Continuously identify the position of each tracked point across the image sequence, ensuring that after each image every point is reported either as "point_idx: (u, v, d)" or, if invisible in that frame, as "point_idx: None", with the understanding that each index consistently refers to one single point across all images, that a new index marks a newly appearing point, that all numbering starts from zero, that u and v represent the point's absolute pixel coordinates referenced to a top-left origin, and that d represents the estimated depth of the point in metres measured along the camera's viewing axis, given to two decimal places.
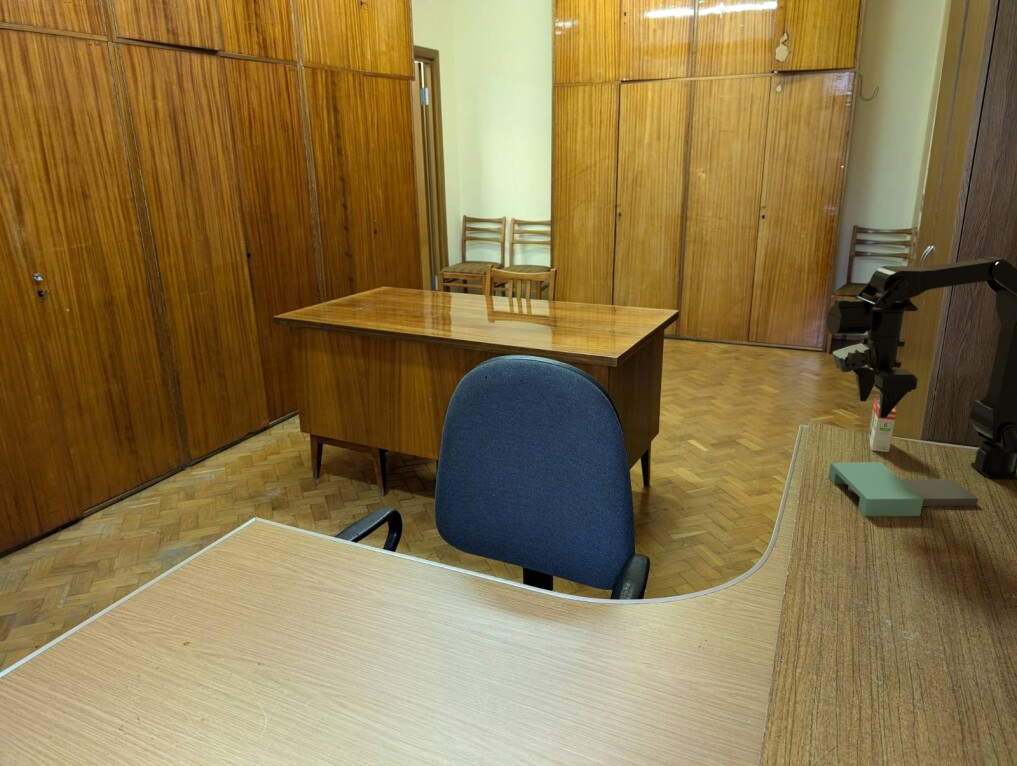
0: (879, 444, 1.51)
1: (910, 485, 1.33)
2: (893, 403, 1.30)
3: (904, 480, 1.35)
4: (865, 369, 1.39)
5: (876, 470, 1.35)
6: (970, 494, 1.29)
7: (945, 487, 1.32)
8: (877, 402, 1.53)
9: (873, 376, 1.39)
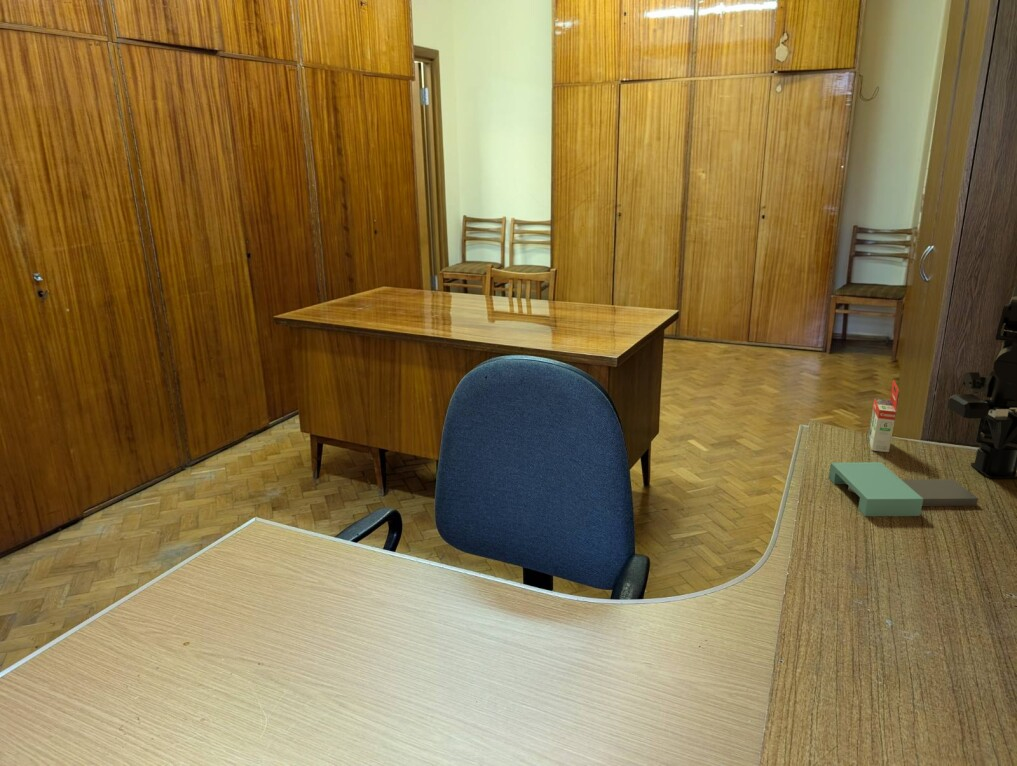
0: (879, 444, 1.51)
1: (910, 485, 1.33)
2: (997, 433, 1.27)
3: (904, 480, 1.35)
4: (1008, 414, 1.27)
5: (876, 470, 1.35)
6: (970, 494, 1.29)
7: (945, 487, 1.32)
8: (877, 402, 1.53)
9: (1012, 425, 1.25)
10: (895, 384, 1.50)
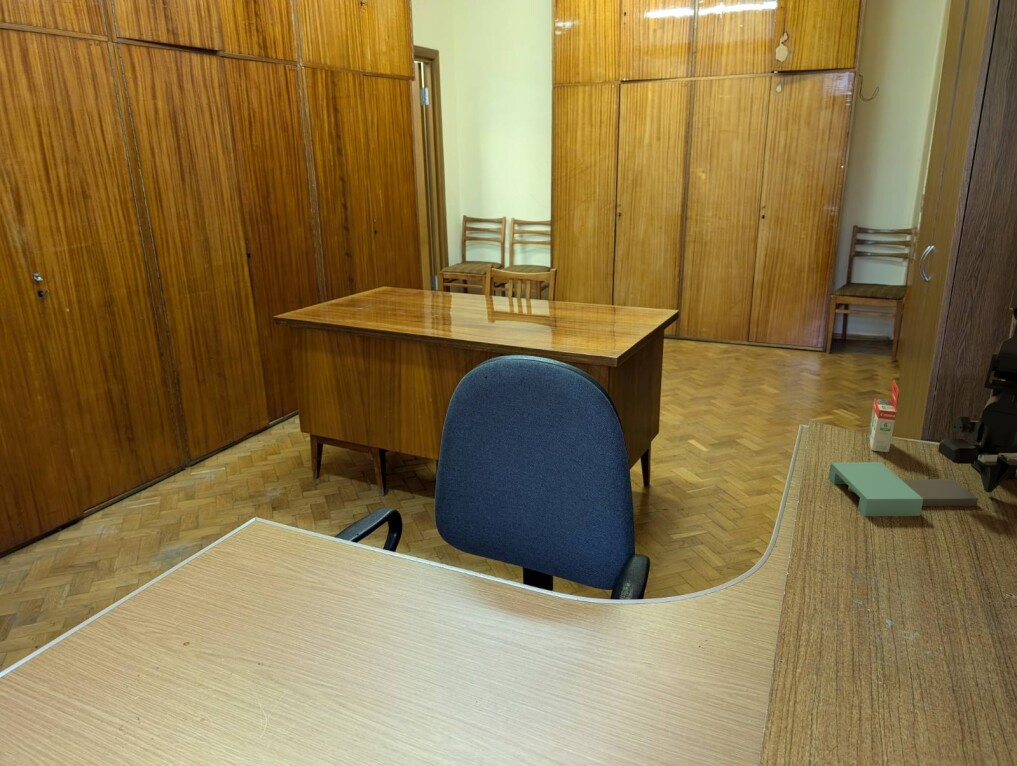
0: (879, 444, 1.51)
1: (910, 485, 1.33)
2: (987, 477, 1.29)
3: (904, 480, 1.35)
4: (998, 459, 1.29)
5: (876, 470, 1.35)
6: (970, 494, 1.29)
7: (945, 487, 1.32)
8: (877, 402, 1.53)
9: (1001, 470, 1.28)
10: (895, 384, 1.50)
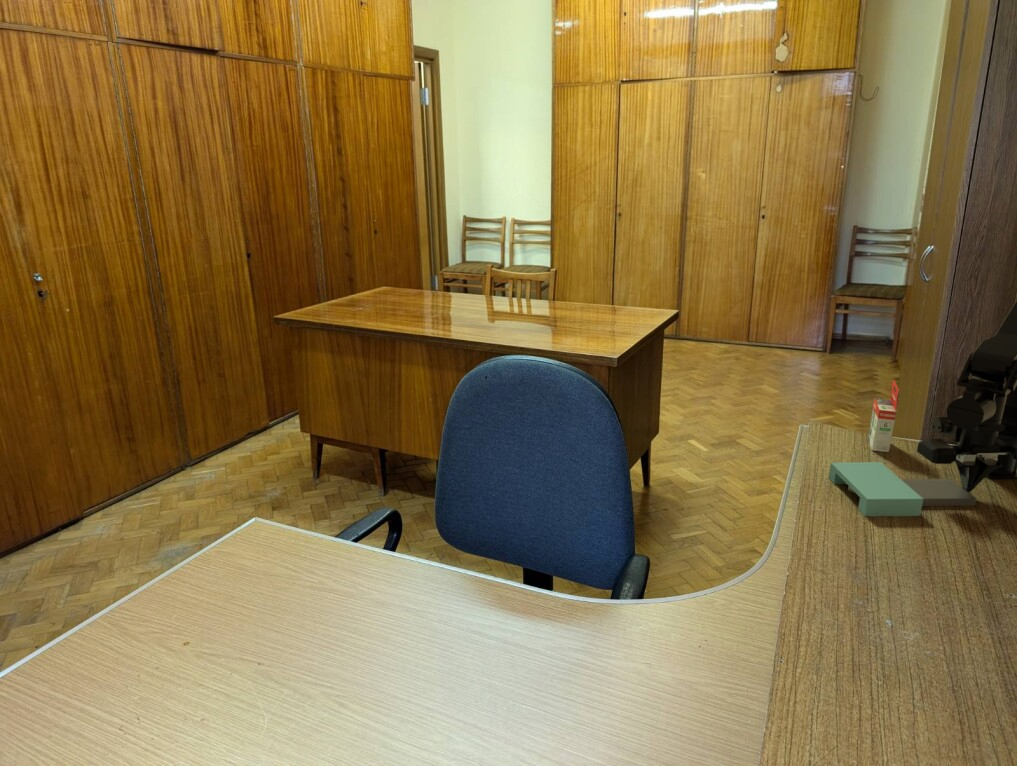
0: (879, 444, 1.51)
1: (908, 485, 1.33)
2: (965, 477, 1.29)
3: (902, 480, 1.35)
4: (976, 459, 1.29)
5: (876, 470, 1.35)
6: (968, 494, 1.29)
7: (943, 487, 1.32)
8: (877, 402, 1.53)
9: (979, 470, 1.28)
10: (895, 384, 1.50)
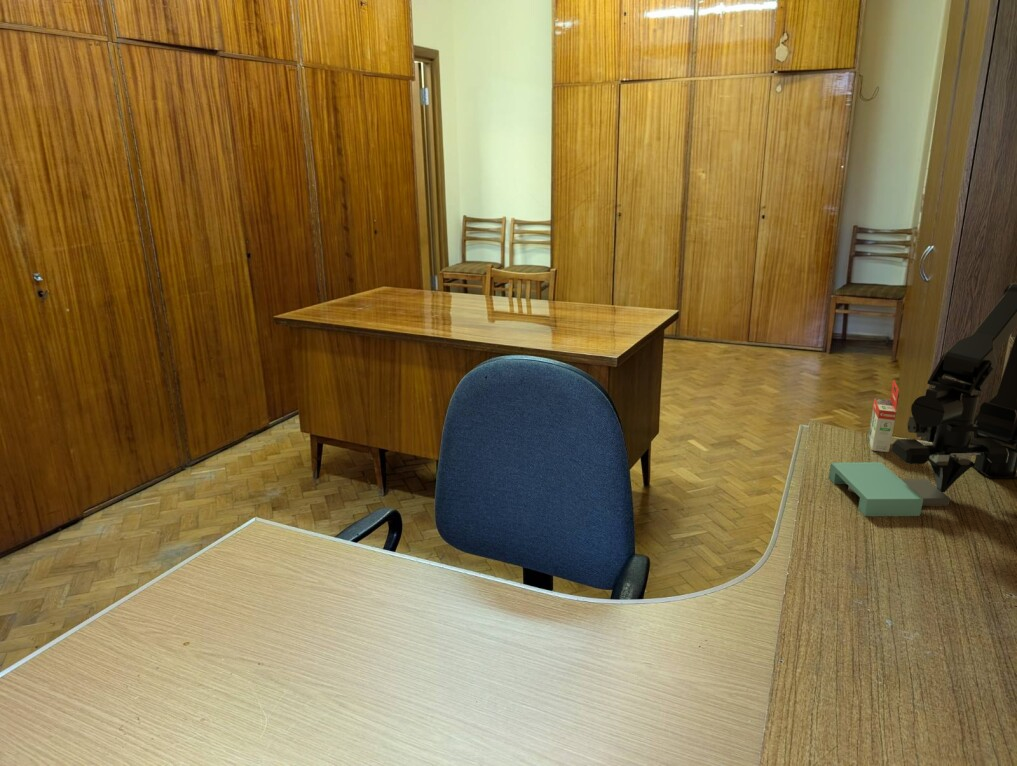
0: (879, 444, 1.51)
1: None
2: (940, 477, 1.29)
3: None
4: (950, 459, 1.29)
5: (876, 470, 1.35)
6: (942, 494, 1.29)
7: (918, 487, 1.32)
8: (877, 402, 1.53)
9: (953, 470, 1.28)
10: (895, 384, 1.50)
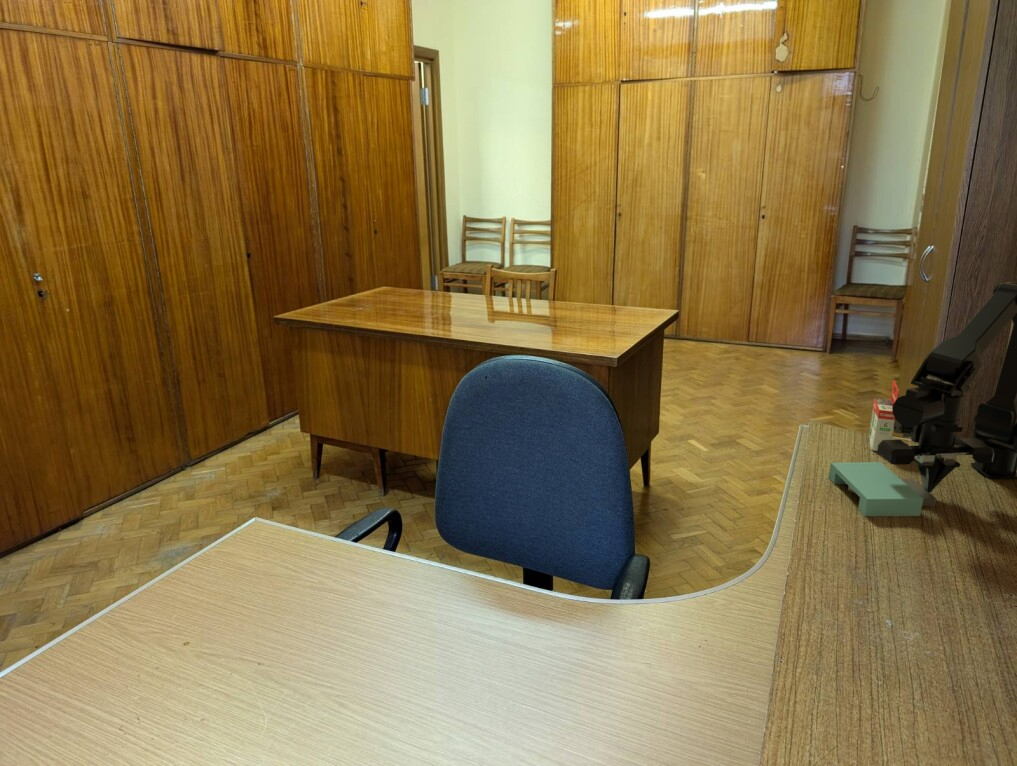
0: None
1: None
2: (926, 478, 1.30)
3: None
4: (935, 459, 1.30)
5: (876, 470, 1.35)
6: (929, 494, 1.29)
7: None
8: (877, 402, 1.53)
9: (938, 470, 1.28)
10: (895, 384, 1.50)
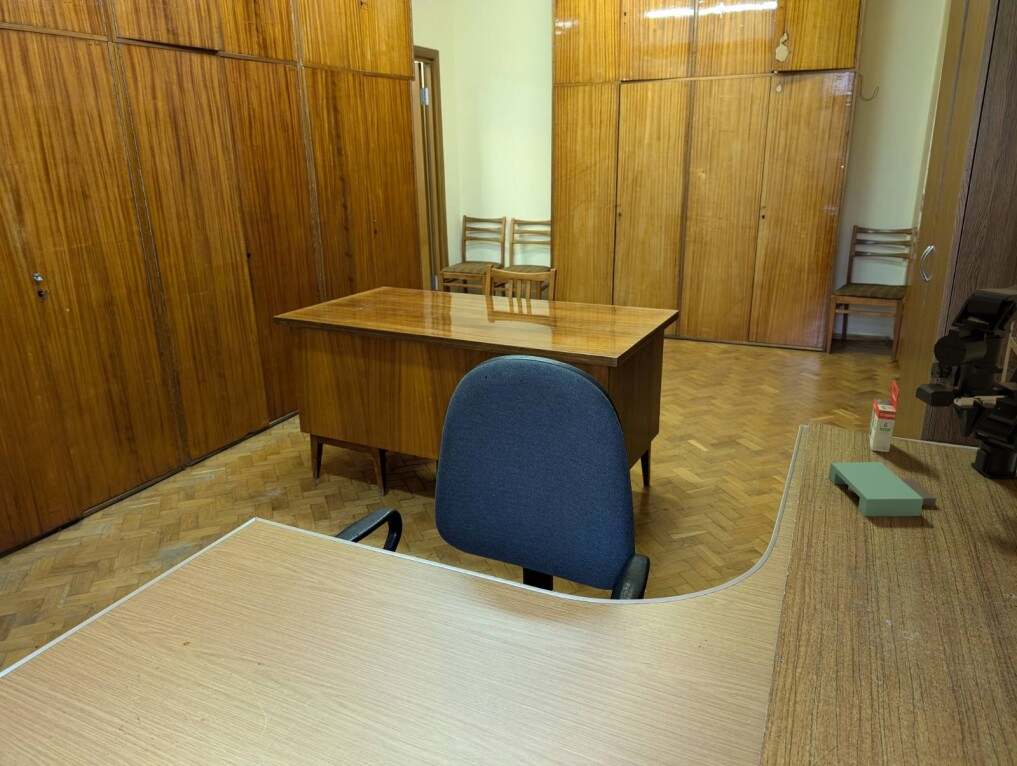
0: (879, 444, 1.51)
1: None
2: (963, 421, 1.30)
3: None
4: (974, 403, 1.30)
5: (876, 470, 1.35)
6: (929, 494, 1.29)
7: None
8: (877, 402, 1.53)
9: (977, 413, 1.29)
10: (895, 384, 1.50)
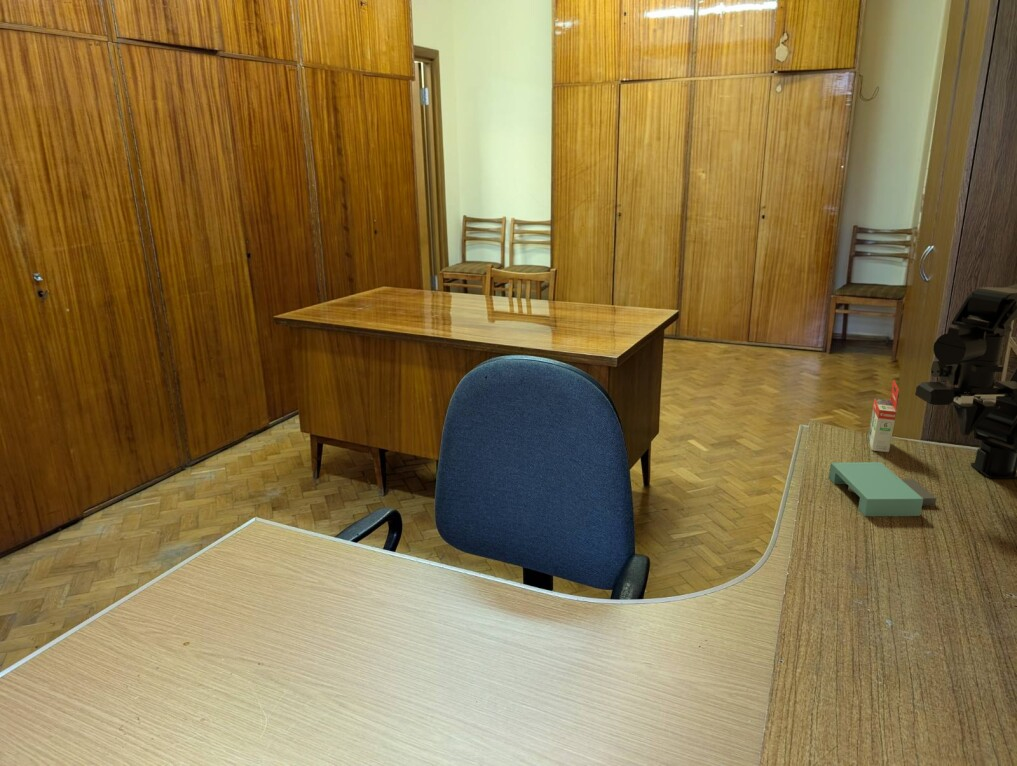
0: (879, 444, 1.51)
1: None
2: (963, 420, 1.30)
3: None
4: (974, 401, 1.30)
5: (876, 470, 1.35)
6: (929, 494, 1.29)
7: None
8: (877, 402, 1.53)
9: (977, 412, 1.29)
10: (895, 384, 1.50)
